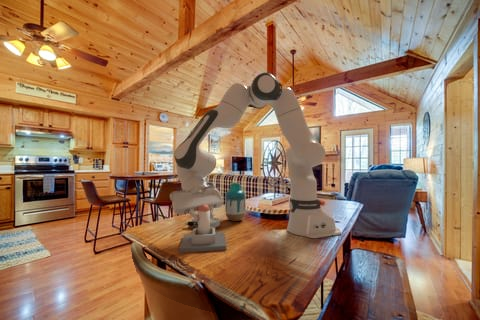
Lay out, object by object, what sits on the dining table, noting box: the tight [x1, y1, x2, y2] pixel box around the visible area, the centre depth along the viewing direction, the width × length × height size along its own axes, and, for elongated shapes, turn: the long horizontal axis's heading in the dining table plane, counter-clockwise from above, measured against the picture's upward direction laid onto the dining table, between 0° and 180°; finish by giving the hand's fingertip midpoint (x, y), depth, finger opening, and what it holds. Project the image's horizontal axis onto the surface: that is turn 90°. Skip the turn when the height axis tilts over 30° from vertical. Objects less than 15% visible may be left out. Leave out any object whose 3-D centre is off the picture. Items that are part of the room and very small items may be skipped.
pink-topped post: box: [197, 204, 210, 235], centre depth 79 cm, size 4×4×12 cm
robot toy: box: [184, 217, 224, 229], centre depth 97 cm, size 12×4×15 cm
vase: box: [224, 182, 247, 222], centre depth 108 cm, size 11×11×19 cm
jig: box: [178, 227, 227, 254], centre depth 79 cm, size 16×14×4 cm
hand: (204, 218), depth 78 cm, fingers closed on pink-topped post, 4 cm apart
